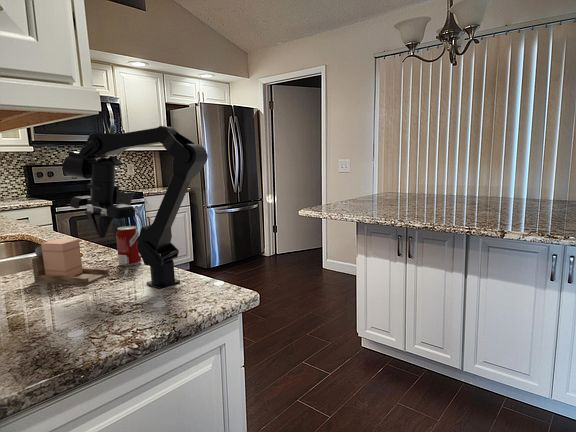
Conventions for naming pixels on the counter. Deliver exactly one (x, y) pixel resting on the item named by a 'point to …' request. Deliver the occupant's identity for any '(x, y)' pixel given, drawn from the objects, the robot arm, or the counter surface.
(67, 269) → the pink box
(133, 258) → the soda can
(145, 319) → the counter surface
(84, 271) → the bay
